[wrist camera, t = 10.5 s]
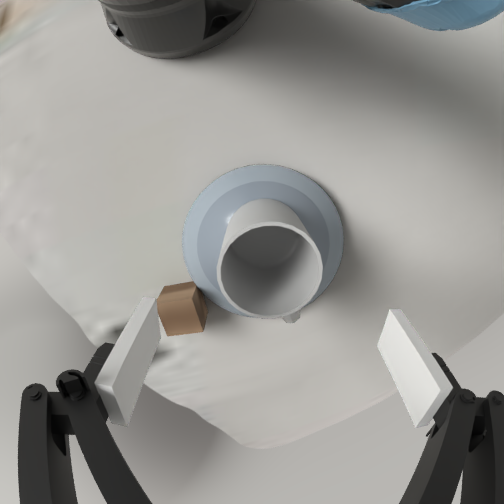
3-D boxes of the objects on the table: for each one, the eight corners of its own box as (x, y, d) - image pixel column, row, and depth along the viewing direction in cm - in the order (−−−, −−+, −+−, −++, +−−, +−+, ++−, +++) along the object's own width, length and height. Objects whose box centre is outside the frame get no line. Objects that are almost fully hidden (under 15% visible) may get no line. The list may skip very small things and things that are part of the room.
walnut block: (164, 286, 32) (154, 304, 28) (198, 280, 32) (191, 298, 28) (175, 316, 33) (167, 336, 30) (208, 311, 33) (203, 331, 29)
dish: (185, 160, 27) (182, 161, 26) (350, 172, 28) (354, 174, 26) (186, 307, 33) (184, 313, 32) (326, 314, 33) (329, 320, 32)
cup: (286, 185, 27) (302, 204, 18) (320, 277, 30) (343, 326, 22) (214, 214, 28) (198, 246, 19) (254, 301, 31) (256, 356, 23)
